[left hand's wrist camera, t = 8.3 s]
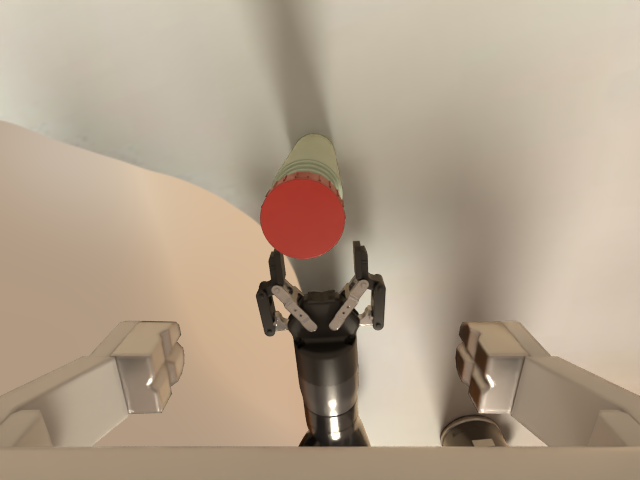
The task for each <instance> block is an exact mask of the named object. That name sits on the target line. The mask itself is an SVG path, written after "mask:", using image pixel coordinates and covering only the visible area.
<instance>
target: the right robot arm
mask: <svg viewBox="0 0 640 480" xmlns="http://www.w3.org/2000/svg"><path fill="white" fill-rule="evenodd" d="M353 254H354V271H355V275H354V277H353V278H352V279H351V281H350V282H349V283H347V284H346V285H345V286H344V288H343V289H342V290H341V291H340V293H336V292H335V290H331V291H325V292H322V293H320V292H308V294H306V295H304V294H303V293H302V292H301V291H300V290H299V289H298V288H296V287H295V286H292V285H291V284H290V283H289V282H288V281H287V280H286V279H285V275H286V272H285V265H284V257H283V254H282V253H280V252H279V251H277V250H276V249H274V252H271V255H270V258H269V268H270V275H271V280H270V281H267V282H266V281H263V282H261V283H260V285H259V290H258V292H257V294H256V299H257V303H258V307H259V311H260V315H261V320H262V324H263V328H264V332H265V334H266V335H267V336H273V335H274V334H275V331H281V330H289V331H290V332H291V334H292V336H293V339H294V347H295V354H296V362H297V370H298V378H299V385H300V389H301V393H302V396H303V400H304V408H305V416H306V422H307V426H308V429H309V431H308V432H307V433H306V434H305V436H304V438H303V439H302V441H301V443H300V445H299V446H298V447H371V445H370V442H369V440H368V437H367V434H366V432H365V429H364V426H363V424H362V422H361V420H360V417H359V415H358V395H357V391H358V383H359V376H358V357H357V337H356V332H357V329H358V327H359V326H360V325H373V328H374V329H375V330H381V329H382V328H383V326H384V310H385V292H386V288H385V285H384V282H383V278H382V276H381V275H379V274H375V275H372V274H370V273H368V255H367V251H366V248H365V246H360V242H359V241H353ZM366 289H370V290H371V306H370V305H368V306H367V307H366V308H365V311H364V313H362V314H359V313H358V312H357V311H356V310H355V309H354V307H355V306H356V305H357V303H358V301H359V298H360V297H361V296H362V294H363V293H364V292H365V291H366ZM272 295H275V296H276V297H277V298H278V299H279V300H280V301H281V302H282V303H283V304H284V306H285V308H286V309H287V310H288V311H289V312H290V313H291V314H290V316H289V318H288V319H285V318H283V317H282V315H281V313H280V312H279V311H275V306H274V302H273V297H272ZM441 445H442V447H508V445H507V443H506V441H505V439H504V437H503V435H502V432H501V430H500V428H499V427H498V425H497V424H496V423H495V422H494V421H493V420H491V419H489V418H486V417H483V416H467V417H463V418H460V419H457V420H455V421H453V422H452V423H450V424H449V425H448V426H447V427H446V428H445V429H444V431H443V433H442V435H441Z"/></svg>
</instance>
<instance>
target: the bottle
mask: <svg viewBox="0 0 640 480" xmlns="http://www.w3.org/2000/svg"><path fill="white" fill-rule="evenodd" d="M297 171H298V172H308V171H310V172H311V173H315V174H318V175H321V176H322V177H324V178H326V179H327V180H328V181H331V183H332V184H333V185H334V186H335V188H336V189H338V191H339V194H340V197H341V199H342V198H343V190H342V184H341V180H340V175H339V170H338V165H337V160H336V155H335V150H334V147H333V145H332V143H331V142H330V141H329V140H328V139H327V138H326V137H324V136H322V135H319V134H309V135H306V136H304V137H302V138H301V139H300V140H299V141H298V142H297V143H296V145H295V146H294V148H293V150H292V151H291V153H290V154H289V156H288V158H287V159H286V161H285V162H284V164H283V166H282V167H281V169H280V170H279V172H278V174H277V175H276V177H275V179H274V181H273V185H272V187H273V186H274V184H275V183H276V181H279V180H280V179H282V178H283V177H285V175H289V174H292V173H296V172H297Z"/></svg>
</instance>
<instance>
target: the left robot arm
mask: <svg viewBox="0 0 640 480" xmlns="http://www.w3.org/2000/svg"><path fill="white" fill-rule="evenodd" d="M180 336H181V332H180V327H179V324H178V323H177V322H161V321H124V322H120V323H119V324H118V326H117V327H116V328H115V329H114V330H113V331H112V332H111V333H110V334H109V335H108V336H107V337H106V338H105V339H104V340H103V342H102V343H101V344H100V345H99V346H98V347H97V348H96V349H95V350H94V351H93V352H92V353H91V354H90V355H89V356H88V357H81V358H79V359H76V360H74V361H72V362H70V363H68V364H66V365H64V366H62V367H60V368H58V369H56V370H54V371H52V372H49V373H47V374H45V375H43V376H41V377H39V378H37V379H35V380H33V381H31V382H29V383H26V384H24V385H22V386H20V387H18V388H16V389H14V390H12V391H10V392H8V393H6V394H4V395H1V396H0V480H640V396H638V395H636V394H634V393H632V392H630V391H628V390H626V389H624V388H622V387H620V386H618V385H615V384H613V383H611V382H609V381H607V380H605V379H603V378H601V377H599V376H597V375H595V374H593V373H591V372H588V371H586V370H584V369H582V368H580V367H578V366H576V365H574V364H572V363H570V362H568V361H566V360H564V359H561V358H559V357H552V356H551V355H550V354H549V353H548V352H547V351H546V350H545V349H544V348H543V347H542V346H541V345H540V344H539V343H538V341H537V340H536V339H535V338H534V337H533V336H532V335H531V334H530V333H529V332H528V331H527V330H526V329H525V328H524V326H523V325H522V324H521V323H519V322H517V321H498V322H463V323H462V325H461V327H460V331H459V336H460V337H461V339H462V341H463V342H462V343H461V344H460V345H459V346H458V347H457V350H456V368H457V371H458V374H459V376H460V379H461V381H462V382H463V383H465V384H466V385H468V386H469V392H468V394H469V396H470V398H471V400H472V402H473V404H474V406H475V408H476V409H477V411H478V413H495V414H511V416H512V417H513V418H515V419H516V420H517V421H518V422H520V423H521V424H522V425H523V426H524V427H526V428H527V429H528V430H529V431H531V432H532V433H533V434H534V435H535V436H537V437H538V438H539V439H540V440H541V441H543V442H544V443H545V444H546V445H548V446H549V447H91V446H92V445H94V444H95V443H96V442H97V441H99V440H100V439H101V438H102V437H104V436H105V435H106V434H107V433H108V432H110V431H111V430H112V429H113V428H114V427H116V426H117V425H118V424H119V423H121V422H122V421H123V420H124V419H125V418H127V417H128V416H129V414H144V413H162V411H163V409H164V407H165V406H166V404H167V402H168V400H169V398H170V396H171V394H172V392H171V386H172V385H174V384H175V383H177V382H178V381H179V378H180V376H181V374H182V371H183V366H184V350H183V347H182V346H181V345H180V344H179V343H178V342H177V341H178V339H179V337H180Z"/></svg>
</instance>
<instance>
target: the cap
mask: <svg viewBox="0 0 640 480" xmlns="http://www.w3.org/2000/svg"><path fill="white" fill-rule="evenodd" d="M265 197H266V199H265V201H264V203H263V205H262V206H261V208H262V209H261V215H260V221H261V227H262V230H263V233H264V235H265V237H266V239H267V240H268V242H269V243H270V244H271V245H272V246H273V247H274V248H275V249H276V250H277V251H279V252H280V253H282V254H284V255H286V256H289V257H292V258H298V259H309V258H314V257H318V256H320V255H322V254H324V253H326V252H328V251H329V250H330V249H331V248H333V247H334V246H335V244H336V243H337V242H338V240H339V239H340V237H341V235H342V232H343V229H344V224H345V212H344V209H343V207H344V204H343V199H341V197H340V194H339V191H338V189H336V188H335V186H334V185H333V184H332V183H331V181H328V180H327V179H326V178H324V177H322V176H321V175H318V174H315V173H311V172H310V171H308V172H298V171H297V172H296V173H292V174H289V175H285V177H283V178H282V179H280V180H279V181H276V183H275V184H274V186H273V187H272V189H271V190H269V191H268V193H267V195H266V196H265Z"/></svg>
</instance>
